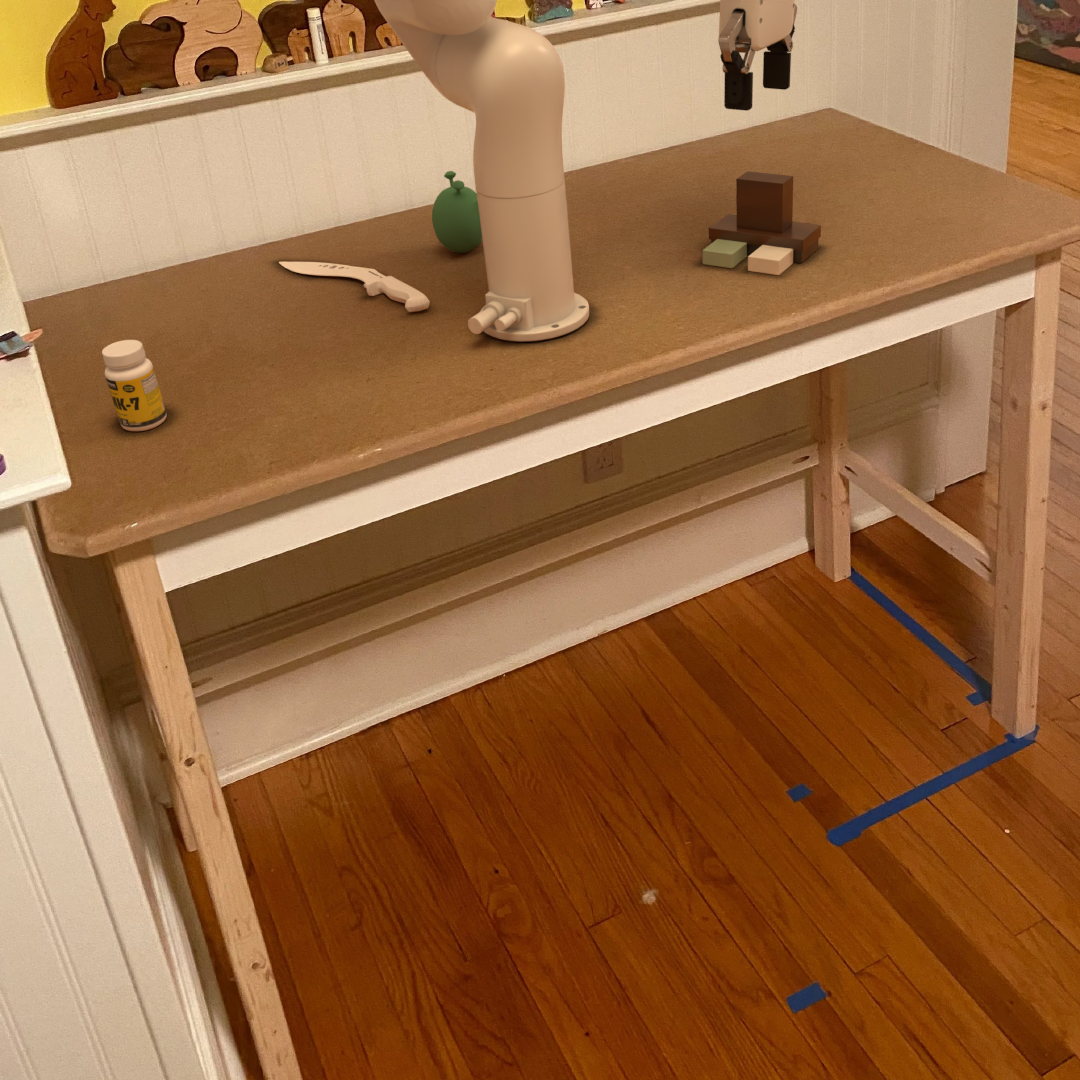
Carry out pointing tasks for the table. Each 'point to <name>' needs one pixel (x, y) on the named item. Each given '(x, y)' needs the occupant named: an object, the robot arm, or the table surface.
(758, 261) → the chip
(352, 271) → the knife
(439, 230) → the alien toy
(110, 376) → the supplement bottle
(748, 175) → the brown inverted t block
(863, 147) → the table surface
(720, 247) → the chip
